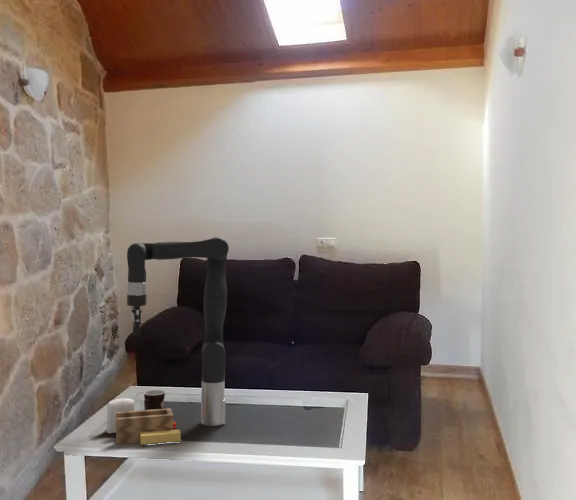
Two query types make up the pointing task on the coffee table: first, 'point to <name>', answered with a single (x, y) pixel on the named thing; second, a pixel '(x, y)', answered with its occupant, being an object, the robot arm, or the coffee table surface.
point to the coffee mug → (154, 399)
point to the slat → (160, 436)
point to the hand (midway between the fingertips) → (136, 334)
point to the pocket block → (141, 423)
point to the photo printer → (117, 406)
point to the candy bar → (174, 424)
